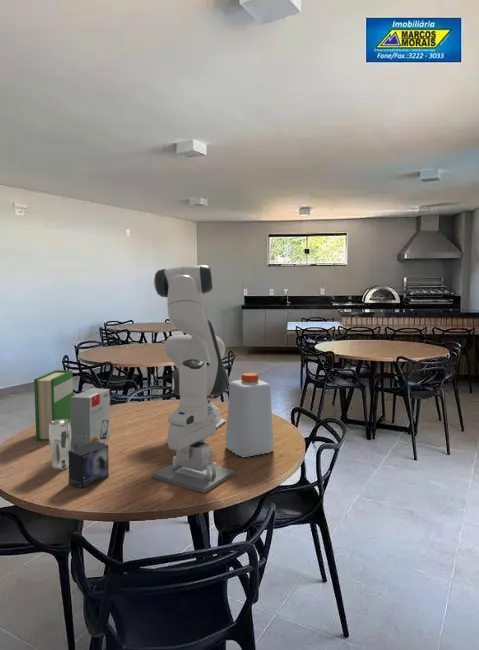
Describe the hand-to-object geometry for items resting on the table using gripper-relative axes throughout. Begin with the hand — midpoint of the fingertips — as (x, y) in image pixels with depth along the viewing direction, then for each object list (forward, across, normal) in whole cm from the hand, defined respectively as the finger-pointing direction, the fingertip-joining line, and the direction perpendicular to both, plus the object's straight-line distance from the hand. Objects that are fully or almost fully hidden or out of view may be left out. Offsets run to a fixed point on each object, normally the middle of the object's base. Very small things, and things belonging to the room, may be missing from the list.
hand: (193, 455), depth 143 cm
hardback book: (+7, -2, -71) cm, 71 cm away
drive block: (+3, 0, 0) cm, 3 cm away
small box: (+7, +20, -25) cm, 33 cm away
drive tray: (+7, 0, 0) cm, 7 cm away
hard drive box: (+7, -1, -49) cm, 49 cm away
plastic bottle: (+7, -29, +3) cm, 30 cm away
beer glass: (+7, +18, -41) cm, 45 cm away
